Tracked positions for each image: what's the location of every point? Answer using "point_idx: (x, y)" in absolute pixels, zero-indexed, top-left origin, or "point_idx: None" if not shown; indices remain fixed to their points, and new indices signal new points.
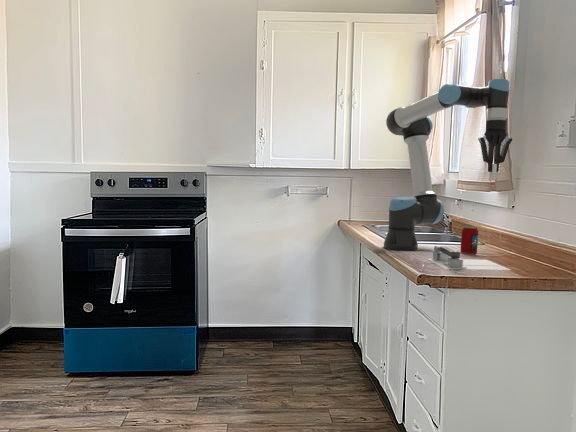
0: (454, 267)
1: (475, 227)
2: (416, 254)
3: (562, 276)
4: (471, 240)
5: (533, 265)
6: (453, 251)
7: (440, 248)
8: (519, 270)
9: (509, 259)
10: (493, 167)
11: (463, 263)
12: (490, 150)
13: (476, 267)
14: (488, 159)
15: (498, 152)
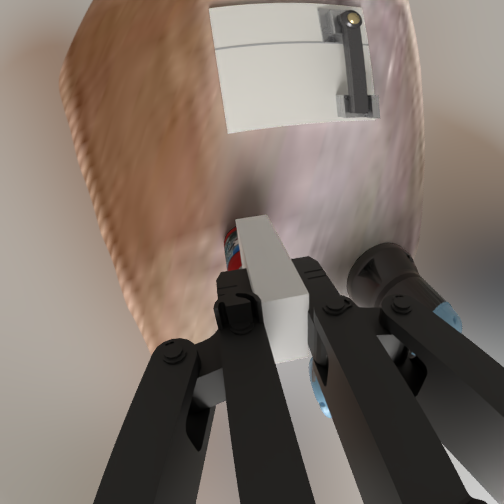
0: (343, 10)
1: None
2: (372, 205)
3: (101, 11)
4: None
5: (114, 127)
6: (359, 18)
7: (369, 95)
8: (175, 43)
9: (152, 198)
10: (289, 269)
11: (307, 65)
12: (427, 445)
13: (289, 21)
14: (393, 317)
15: (275, 457)
